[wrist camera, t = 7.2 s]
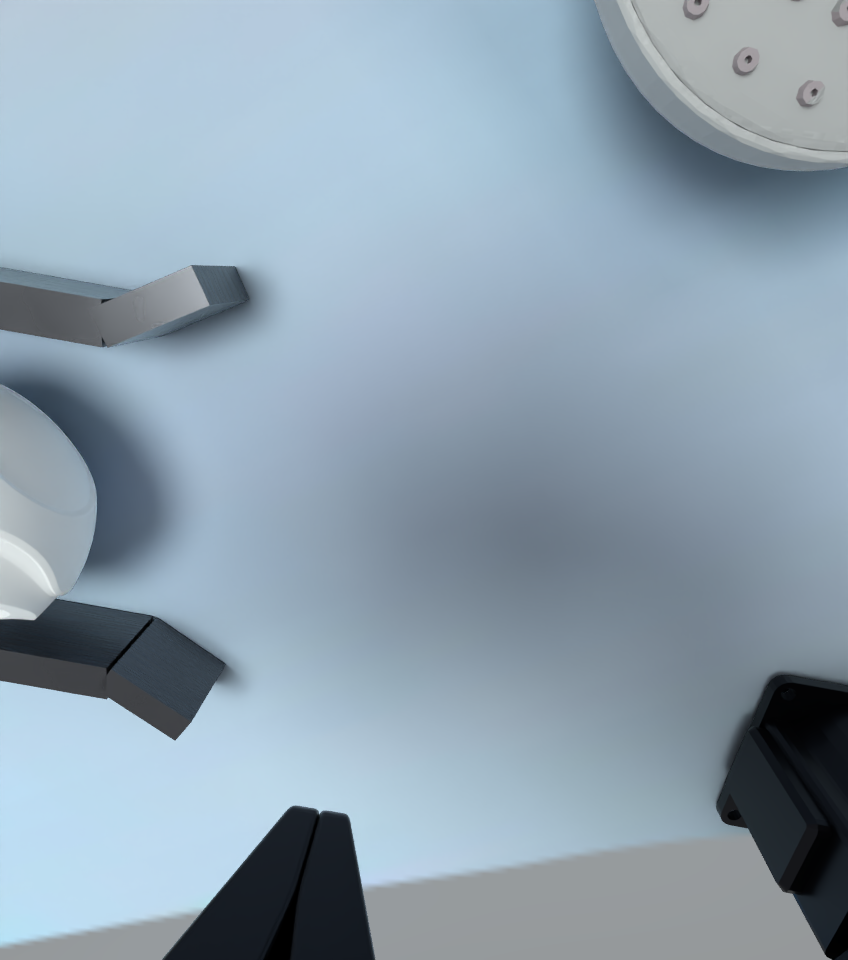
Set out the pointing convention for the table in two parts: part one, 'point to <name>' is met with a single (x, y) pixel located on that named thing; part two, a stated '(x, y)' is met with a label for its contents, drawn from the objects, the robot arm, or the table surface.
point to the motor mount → (90, 629)
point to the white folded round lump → (40, 509)
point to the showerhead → (742, 74)
